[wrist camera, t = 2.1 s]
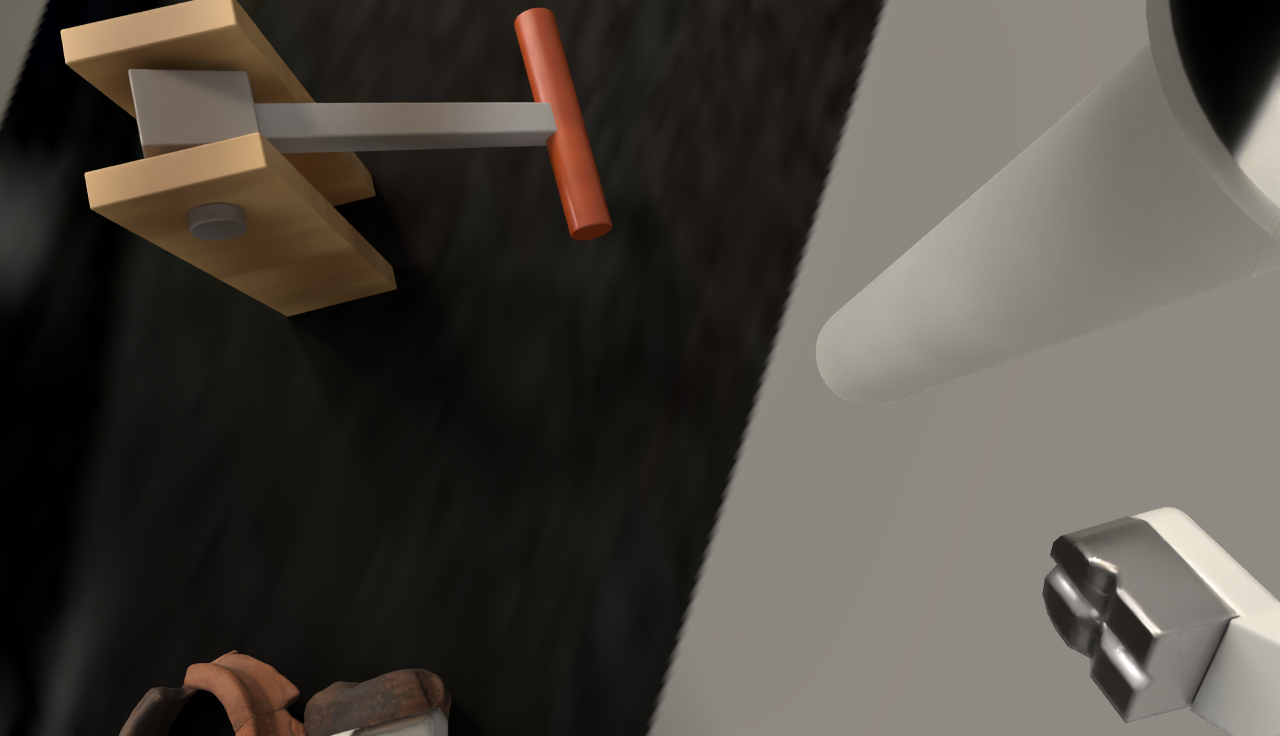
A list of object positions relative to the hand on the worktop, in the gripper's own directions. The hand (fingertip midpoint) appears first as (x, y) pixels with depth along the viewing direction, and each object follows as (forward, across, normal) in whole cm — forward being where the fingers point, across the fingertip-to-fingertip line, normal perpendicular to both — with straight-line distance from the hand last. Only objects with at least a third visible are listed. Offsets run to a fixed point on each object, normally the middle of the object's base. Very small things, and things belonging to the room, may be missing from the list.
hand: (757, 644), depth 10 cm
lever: (+20, -6, +1) cm, 21 cm away
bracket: (+26, -10, -5) cm, 28 cm away
